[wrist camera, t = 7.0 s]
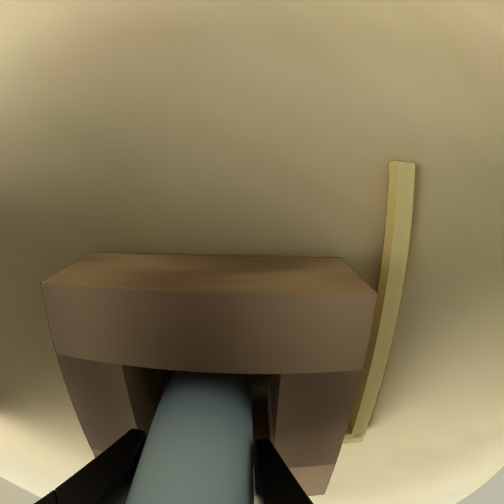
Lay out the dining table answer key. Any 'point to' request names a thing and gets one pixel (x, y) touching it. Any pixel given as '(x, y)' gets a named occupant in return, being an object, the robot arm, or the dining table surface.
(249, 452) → the light blue cylinder
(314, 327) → the brown square frame
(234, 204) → the dining table surface
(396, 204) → the lace
